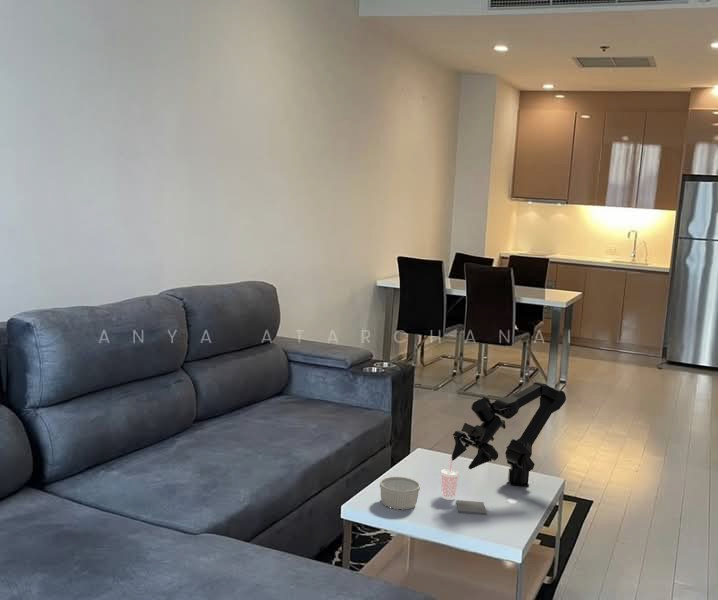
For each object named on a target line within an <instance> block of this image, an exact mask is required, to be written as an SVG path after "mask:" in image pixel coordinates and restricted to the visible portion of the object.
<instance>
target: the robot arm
mask: <svg viewBox="0 0 718 600" xmlns="http://www.w3.org/2000/svg"><path fill="white" fill-rule="evenodd" d="M538 398H539V407H538V408H537V410H536V411H535V413H534V415H533V416H532V418H531V419H530V421H529V423H528V425H526V428H525V429H524V431H523V432H522V434H521V436H520V437H519V438H518V439H515V438H513V439H511V440H510V443H509V444H508V445H507V446H506V450H505V453H504V454H505V459H506V464H508V465H510V468H508V475H507V476H508V477H507V480H508V482H509V484H510V486H516V487H528V486H529V487H530V484H529V476H530V472H531V471H533V470H534V467H535V463H534V461H533V460H532V459H531V457H532V454H533V449H532V448H533V445H534V443H535V441H536V440H537V438H538V437H539V435H540V433H541V432H542V430H543V429H544V428H545V425H546V424H547V422H548V420H549V419H550V418H551V415H552V414H553V413H555V412H557V411H559V410H560V409H561V408H562V407H563V406H564V404H565V403H566V401H567V396H566V393H565V391H564V390H562V389H559V388H554V387H551V386H550V385H547V384H546V383H543V382H540V381H535V382H533V383H532V384H531V385H529V386H528V387H526V388H524V389H523V390H521V391H519V392H517V393H515V394H513V395H512V396H504V397H501V398H498V399H495V401H493V402H491V400H490V399H489V397H487V396H483V397H482V398H480V399H477V400H476V401H474V402H472V404H471V411H472V412H473V413H474V415H475V416H476V417H477V418H478V419H479V421H480V422H481V424H480V425H479V424H476V425H471V424H469V423H467V422H464V423H463V425H462V428H461V429H460V430H455V431H454V433H453V434H452V437H453V440H454V442H455V445H454V448H453V452H452V454H451V457H452V462H453V461H455V460H456V459H457V458H459V457H460V456H461V455H462V454H463V453H465V452H466V451H467V448H469V447H472V448H475V449H477V453H476V455H475V456H474V458H473V460H471V462H470V464H468V465H469V466H468V470H472V469H475V468H477V467H479V466H481V465H483V464H486V463H488V462H492V461H493V462H496V460H497V459H498V458H499V452H498V451H497V450H496V448H495V447H494V446H493V445H492V444H490V443H489V442H490V441H492V442H493V441H494V440H495V438H494V436H495V434H496V433H497V432H498V431H499V429H500V428H501V429H503V430H505V429H506V421H505V419H506V420H510V419H512V418H513V417H514V416H516V415H517V414H518V413H519V410H520V409H521V408H522V407H524V406H525V405H528V404H529V403H531V402H533V401H534V400H536V399H538ZM501 417H502V418H504V419H502V418H501Z"/></svg>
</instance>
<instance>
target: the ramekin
mask: <svg viewBox="0 0 718 600" xmlns="http://www.w3.org/2000/svg"><path fill="white" fill-rule="evenodd" d="M379 488H380V499H381V503H382V504H383V505H384V506H385V505H386V506H388V507H391V508H395V509H394V510H396V509H407V510H410V508H411V509H414V507H415V506H416V505H417V502H418V498H419V492H420V490H421V485H420V483H419V482H418V481H417V480H415V479H412V478H410V477H403V476H388V477H384V478H382V479H381V480H380V482H379ZM386 506H385V507H386ZM388 507H387V508H388ZM391 508H390V509H391Z"/></svg>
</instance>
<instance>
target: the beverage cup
mask: <svg viewBox="0 0 718 600" xmlns="http://www.w3.org/2000/svg"><path fill="white" fill-rule="evenodd" d="M452 463H453V461H452V456H450V462H449V468H444V469H443V468H442V469H441V470H440V471H441V473H440V474H441V499H444V500H447V501H453V500H455V499H456V493H457V486H458V481H459V476H460V472H459V470H457V469H453V468H452V465H453V464H452Z"/></svg>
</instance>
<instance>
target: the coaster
mask: <svg viewBox="0 0 718 600" xmlns="http://www.w3.org/2000/svg"><path fill="white" fill-rule="evenodd" d="M455 501H456V506H457V511H458V513H459V514H473V515H484V516H486V515H488V514H487V510H486V506H485V503H484V501H475V500H473V501H472V500H460V499H456V500H455Z"/></svg>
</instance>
